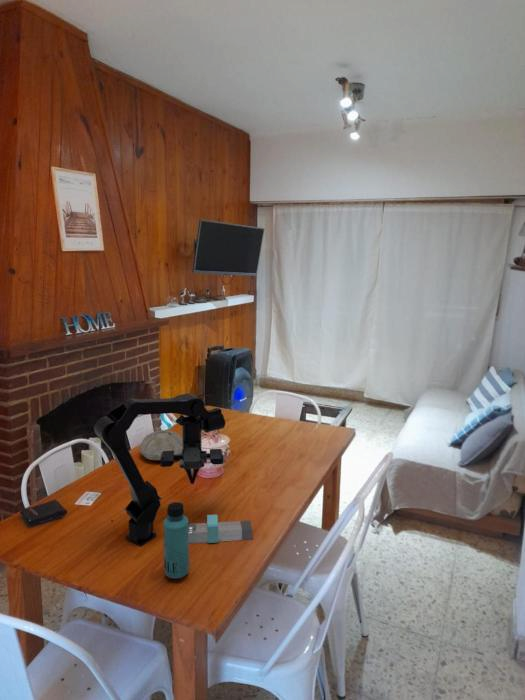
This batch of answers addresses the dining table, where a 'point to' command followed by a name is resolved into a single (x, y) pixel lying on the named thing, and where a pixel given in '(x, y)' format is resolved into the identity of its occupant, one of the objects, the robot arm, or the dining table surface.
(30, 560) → the dining table surface
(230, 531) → the tongs body
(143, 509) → the robot arm
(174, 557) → the beverage bottle
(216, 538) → the lock collar
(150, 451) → the grey rounded lump
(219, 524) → the tongs jaw
